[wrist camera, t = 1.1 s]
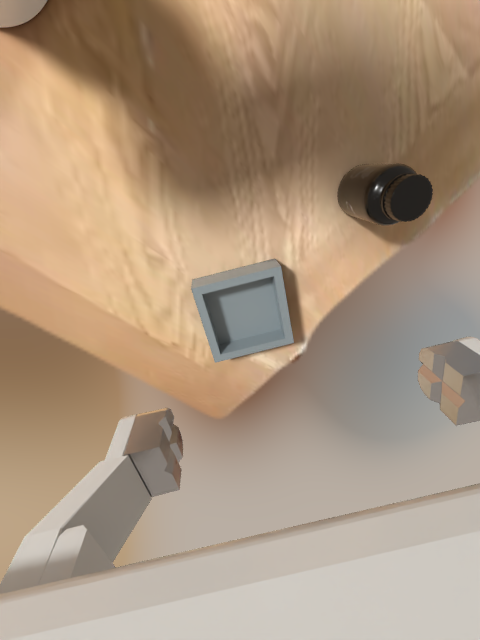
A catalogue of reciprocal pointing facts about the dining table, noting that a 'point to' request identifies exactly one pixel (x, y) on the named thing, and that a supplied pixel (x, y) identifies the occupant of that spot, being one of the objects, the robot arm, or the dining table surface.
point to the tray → (244, 310)
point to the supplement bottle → (384, 193)
